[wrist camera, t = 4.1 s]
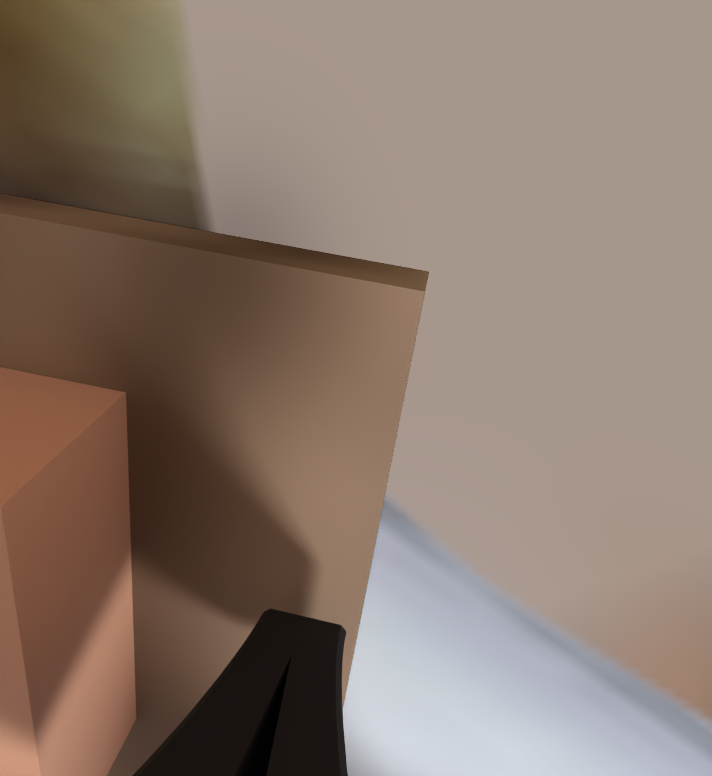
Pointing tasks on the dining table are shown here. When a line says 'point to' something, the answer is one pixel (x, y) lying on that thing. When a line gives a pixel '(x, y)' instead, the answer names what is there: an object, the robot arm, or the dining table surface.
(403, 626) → the dining table surface
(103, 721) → the t block
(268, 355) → the board
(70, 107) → the dining table surface
